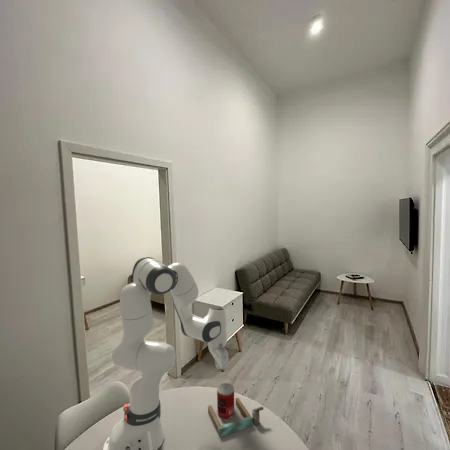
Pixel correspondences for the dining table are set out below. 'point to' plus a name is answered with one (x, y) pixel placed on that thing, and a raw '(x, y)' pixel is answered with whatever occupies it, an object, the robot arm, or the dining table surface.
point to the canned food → (225, 400)
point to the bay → (238, 424)
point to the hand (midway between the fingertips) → (218, 368)
